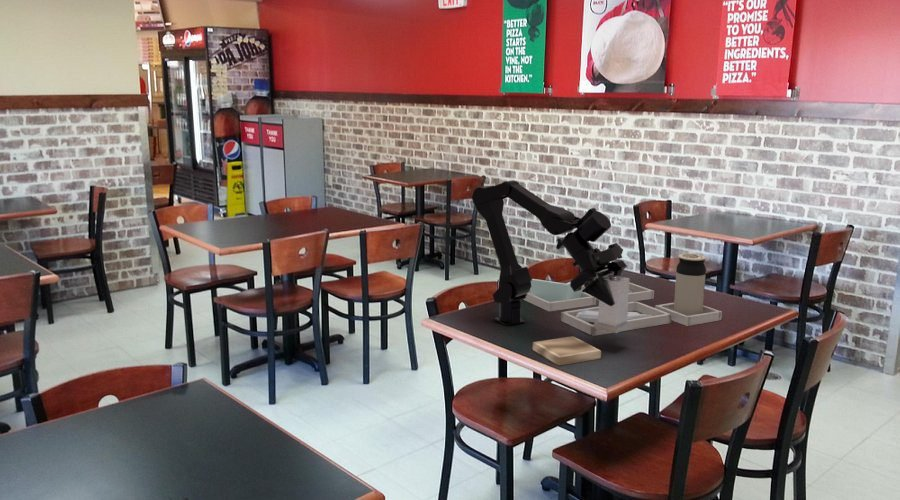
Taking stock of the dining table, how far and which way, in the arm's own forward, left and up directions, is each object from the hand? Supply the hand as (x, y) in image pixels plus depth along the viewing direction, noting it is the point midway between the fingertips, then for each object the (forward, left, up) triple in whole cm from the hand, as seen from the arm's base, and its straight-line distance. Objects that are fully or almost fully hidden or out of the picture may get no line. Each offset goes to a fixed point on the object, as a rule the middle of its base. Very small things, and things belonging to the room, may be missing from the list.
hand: (618, 302), depth 182 cm
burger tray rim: (-41, +32, -12) cm, 54 cm away
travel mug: (-13, +36, -12) cm, 41 cm away
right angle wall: (-43, +11, -12) cm, 46 cm away
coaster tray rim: (-43, +11, -12) cm, 46 cm away
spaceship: (-21, +15, -13) cm, 29 cm away
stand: (-2, -14, -12) cm, 18 cm away
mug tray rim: (-13, +36, -12) cm, 41 cm away
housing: (-1, -1, -7) cm, 7 cm away
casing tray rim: (-18, +14, -12) cm, 26 cm away
